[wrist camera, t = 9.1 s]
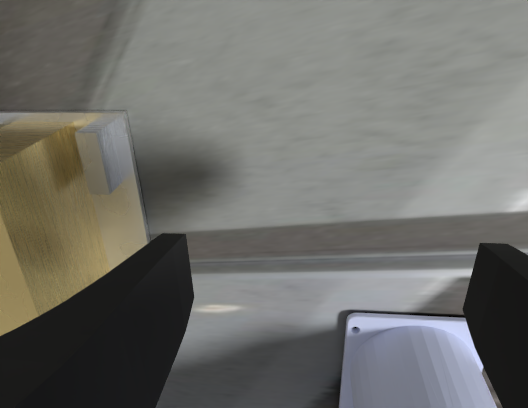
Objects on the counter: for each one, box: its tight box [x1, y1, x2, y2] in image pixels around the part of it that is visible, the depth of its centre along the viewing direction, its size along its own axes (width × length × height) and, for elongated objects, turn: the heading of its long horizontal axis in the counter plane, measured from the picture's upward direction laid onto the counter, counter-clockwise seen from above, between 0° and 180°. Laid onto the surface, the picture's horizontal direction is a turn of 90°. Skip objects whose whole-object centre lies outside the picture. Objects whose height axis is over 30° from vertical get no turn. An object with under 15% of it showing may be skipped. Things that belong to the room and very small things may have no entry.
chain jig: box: [0, 110, 150, 271], centre depth 22 cm, size 14×8×2 cm, turn 2°
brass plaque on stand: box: [0, 122, 110, 336], centre depth 20 cm, size 13×3×6 cm, turn 1°
